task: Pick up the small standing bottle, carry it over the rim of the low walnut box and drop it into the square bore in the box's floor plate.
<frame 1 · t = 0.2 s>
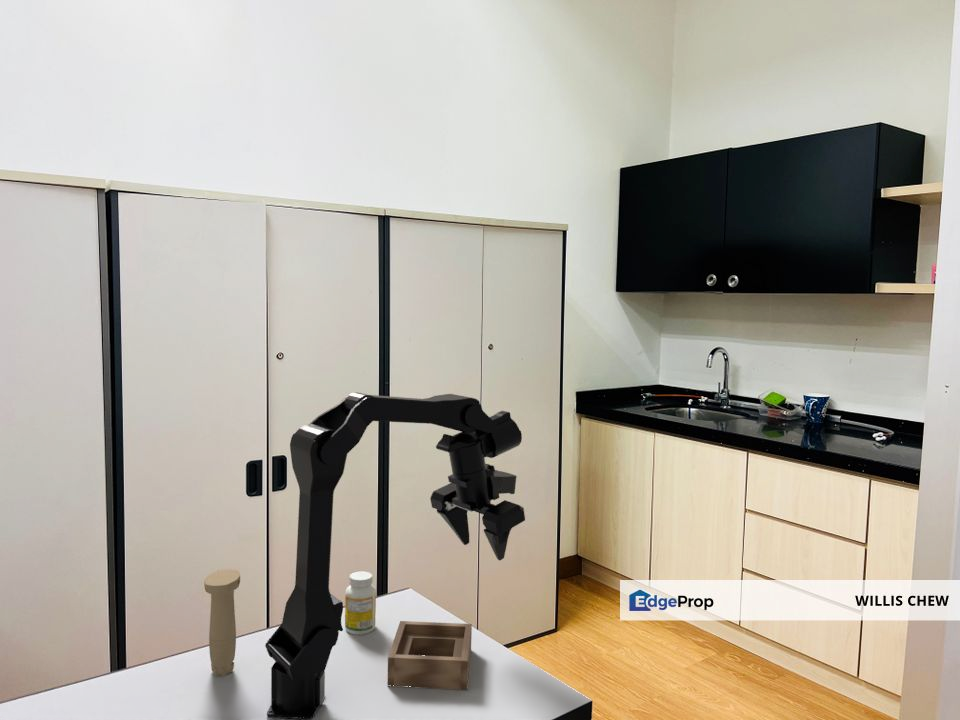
hand: (483, 551, 118), 15 cm above the table, tool pointing down, fingers open, 9 cm apart
supplement bottle: (360, 629, 121), on the table
walnut box: (431, 667, 108), on the table
handle: (222, 672, 106), on the table
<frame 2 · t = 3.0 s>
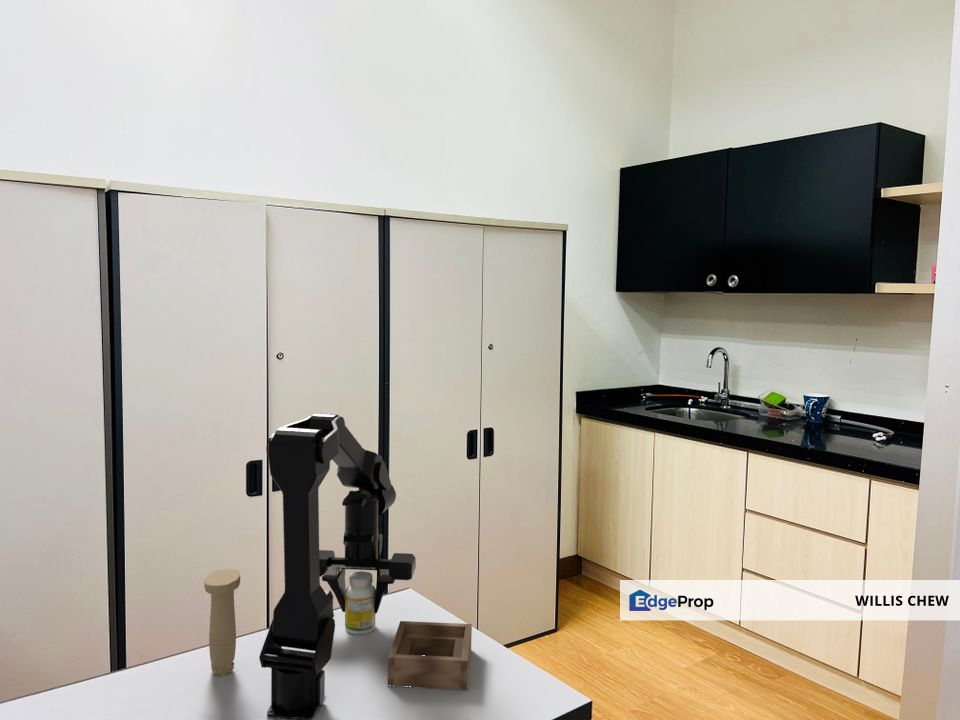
hand: (360, 611, 121), 3 cm above the table, tool pointing down, fingers closed on supplement bottle, 5 cm apart
supplement bottle: (360, 629, 121), on the table, touching gripper
everything else where it was.
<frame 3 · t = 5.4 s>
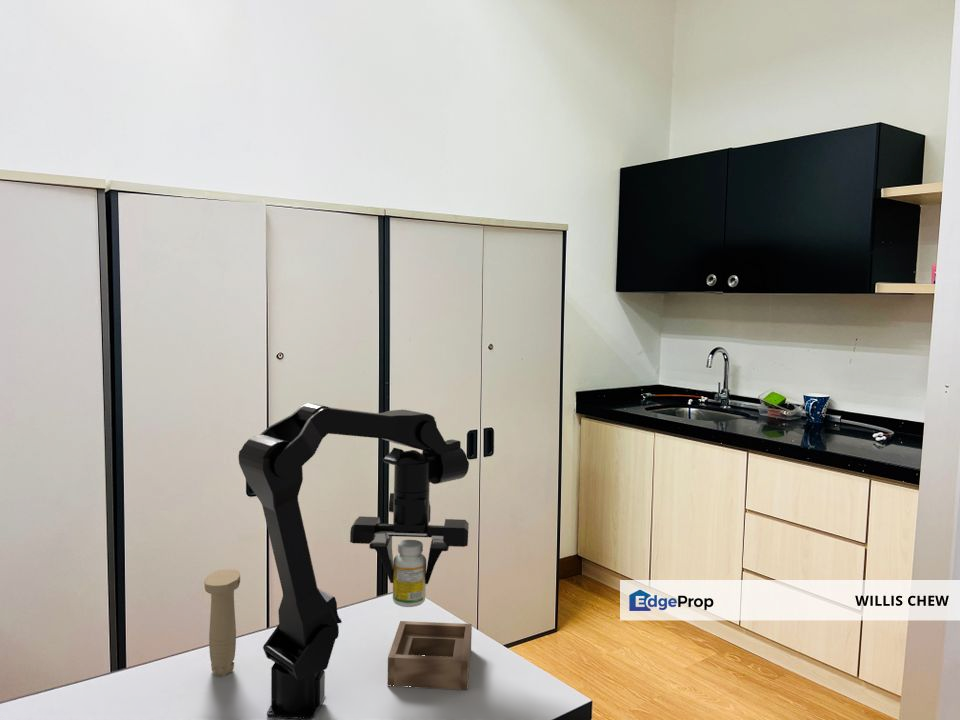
hand: (409, 582, 111), 12 cm above the table, tool pointing down, fingers closed on supplement bottle, 5 cm apart
supplement bottle: (408, 602, 112), point 9 cm above the table, touching gripper
everything else where it was.
when the fingers open (6 cm above the table, at t = 7.6 s): supplement bottle drops 3 cm, on the table.
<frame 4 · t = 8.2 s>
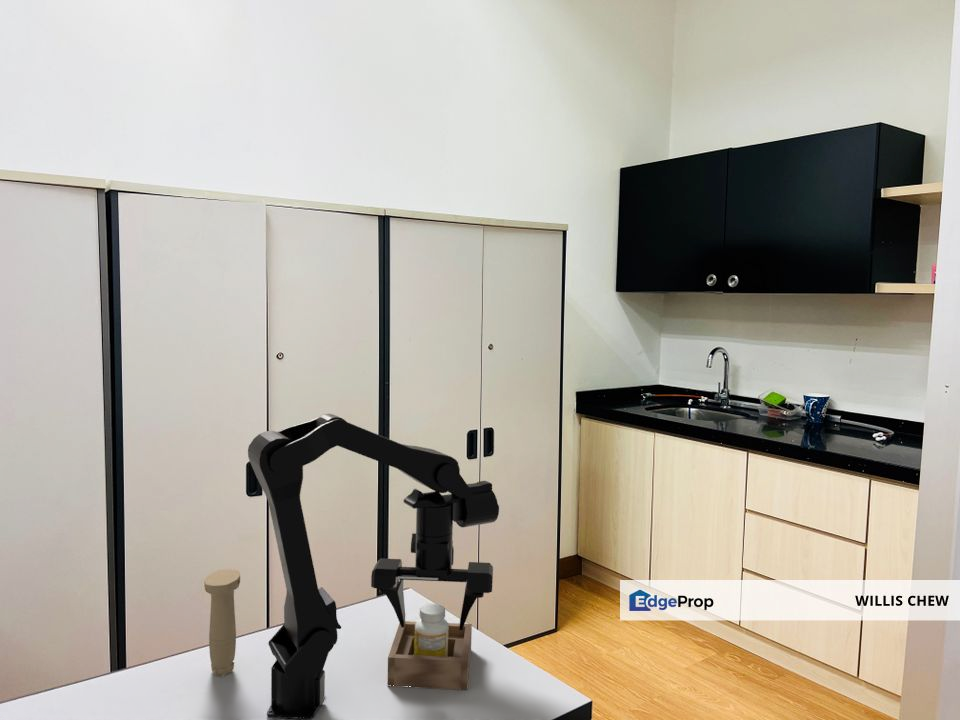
hand: (432, 627, 108), 6 cm above the table, tool pointing down, fingers open, 9 cm apart
supplement bottle: (430, 668, 108), on the table
everything else where it was.
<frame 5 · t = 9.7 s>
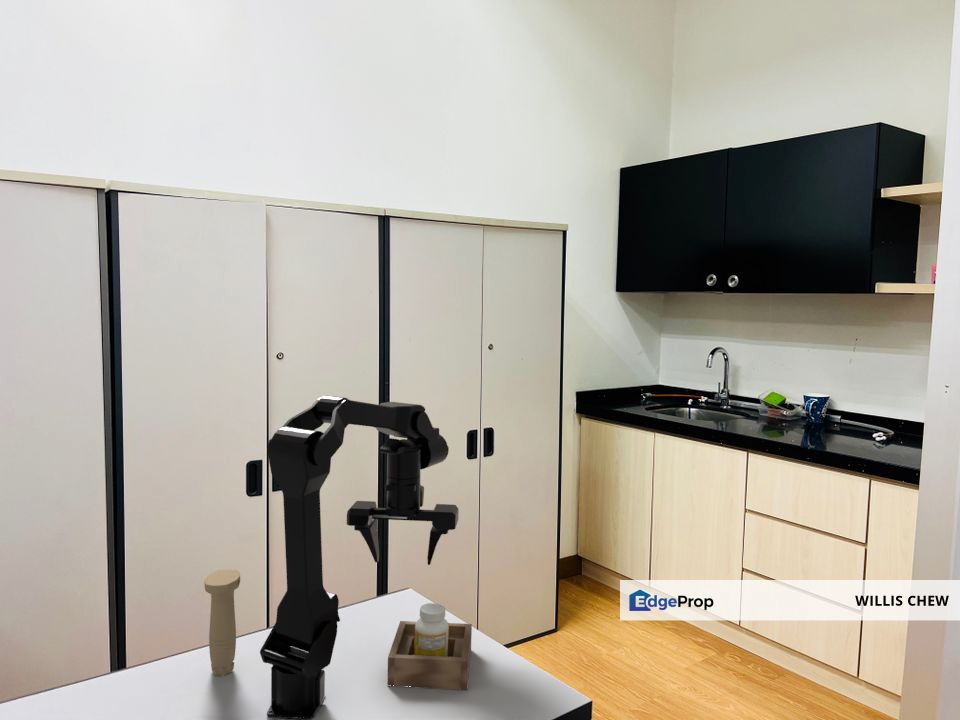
hand: (403, 562, 119), 12 cm above the table, tool pointing down, fingers open, 9 cm apart
nothing on the table moved.
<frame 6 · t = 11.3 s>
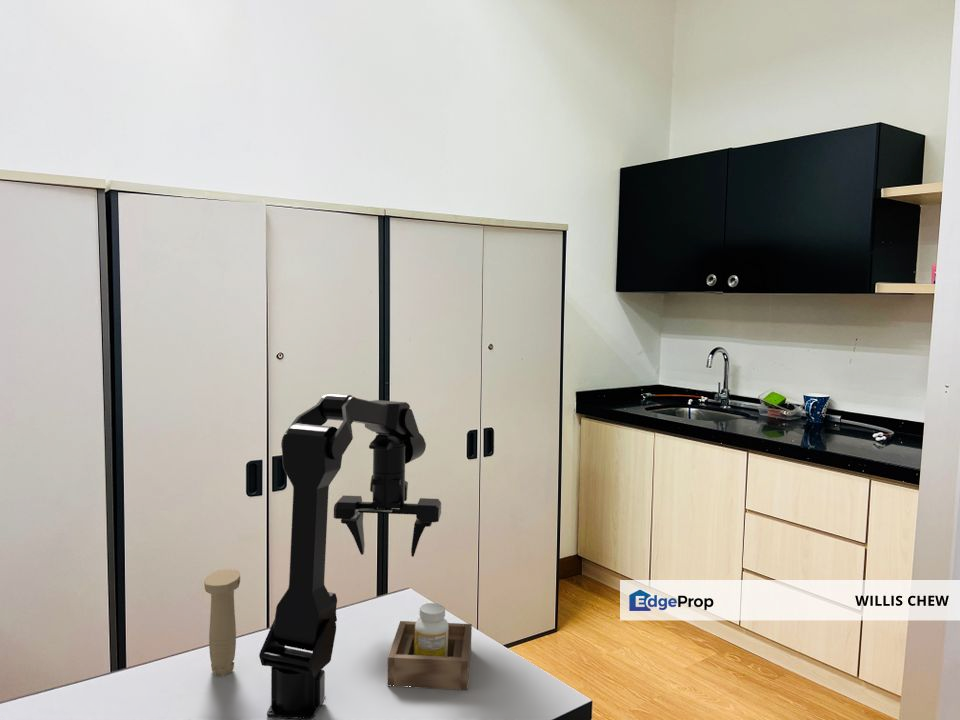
hand: (387, 554, 124), 12 cm above the table, tool pointing down, fingers open, 9 cm apart
nothing on the table moved.
at the end: supplement bottle 0.2 cm off-centre on the walnut box, point 0.0 cm above the walnut box's base; supplement bottle tilted 1°; the gripper is holding nothing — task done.
